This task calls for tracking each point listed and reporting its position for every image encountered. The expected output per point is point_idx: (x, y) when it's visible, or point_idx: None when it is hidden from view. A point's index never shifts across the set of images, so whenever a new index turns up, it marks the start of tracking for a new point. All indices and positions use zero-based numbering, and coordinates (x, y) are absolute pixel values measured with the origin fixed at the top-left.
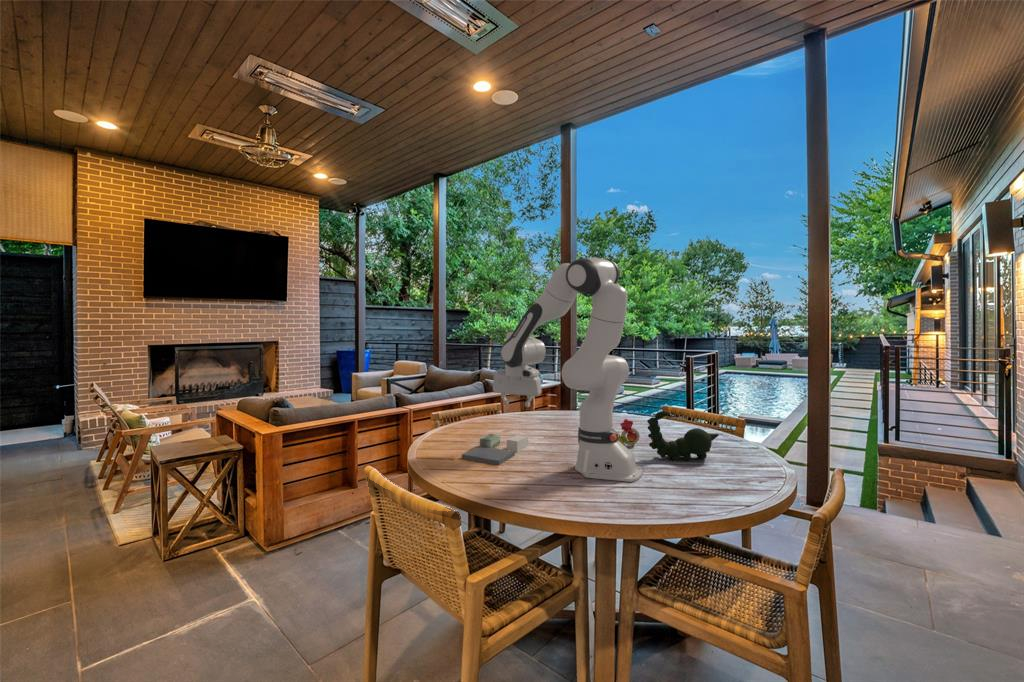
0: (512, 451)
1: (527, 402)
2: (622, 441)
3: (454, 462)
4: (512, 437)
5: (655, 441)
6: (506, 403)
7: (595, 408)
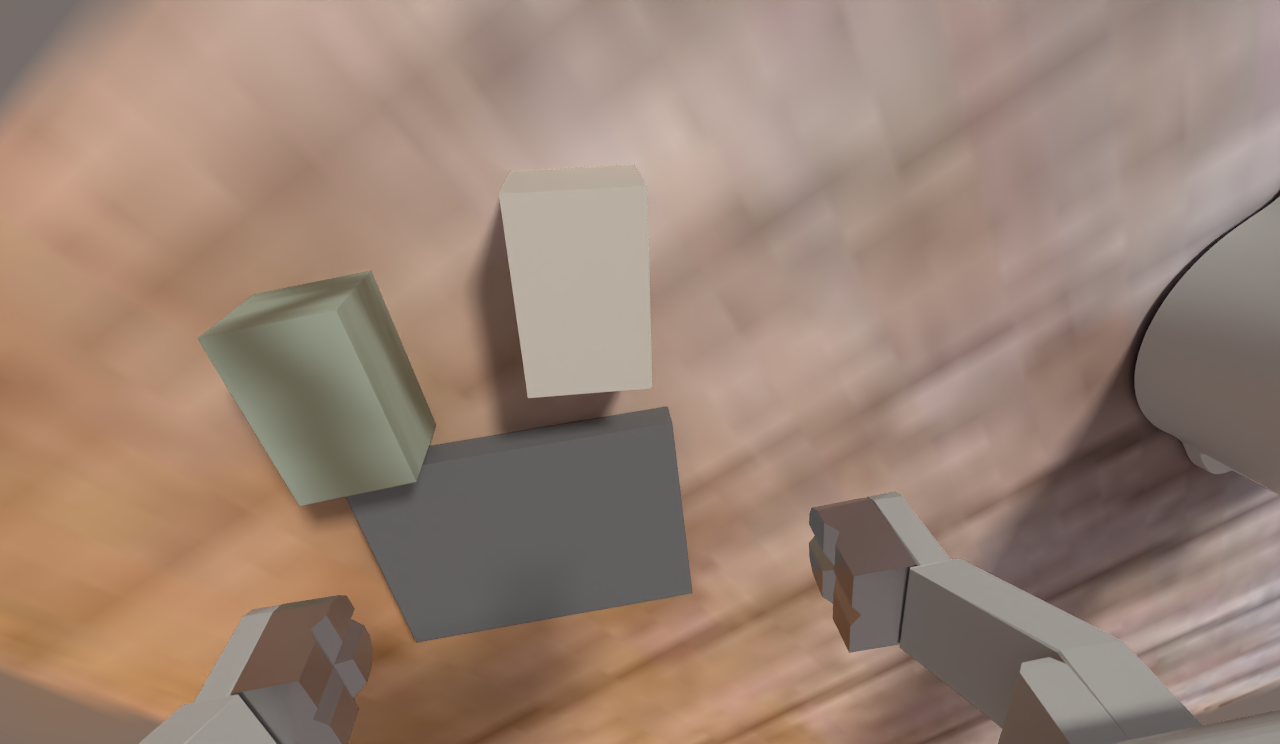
0: (655, 431)
1: (920, 640)
2: None
3: (447, 669)
4: (523, 311)
5: None
6: (358, 680)
7: None
